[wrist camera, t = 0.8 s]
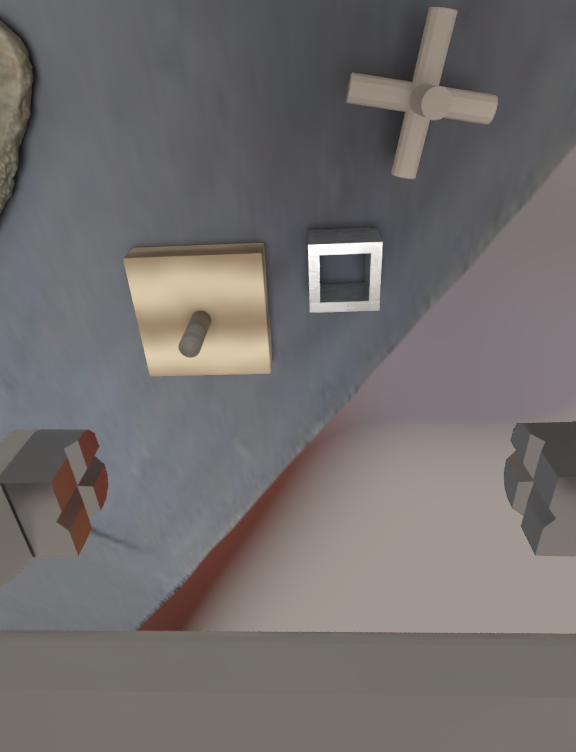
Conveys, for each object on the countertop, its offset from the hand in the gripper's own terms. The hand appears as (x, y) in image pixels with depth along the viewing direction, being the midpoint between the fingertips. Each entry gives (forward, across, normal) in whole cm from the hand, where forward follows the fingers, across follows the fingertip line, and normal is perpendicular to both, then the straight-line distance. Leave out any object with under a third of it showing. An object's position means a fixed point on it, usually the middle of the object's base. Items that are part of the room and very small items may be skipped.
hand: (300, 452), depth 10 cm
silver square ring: (+37, -3, +8) cm, 38 cm away
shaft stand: (+37, +10, +12) cm, 40 cm away
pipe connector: (+37, -8, -5) cm, 38 cm away
